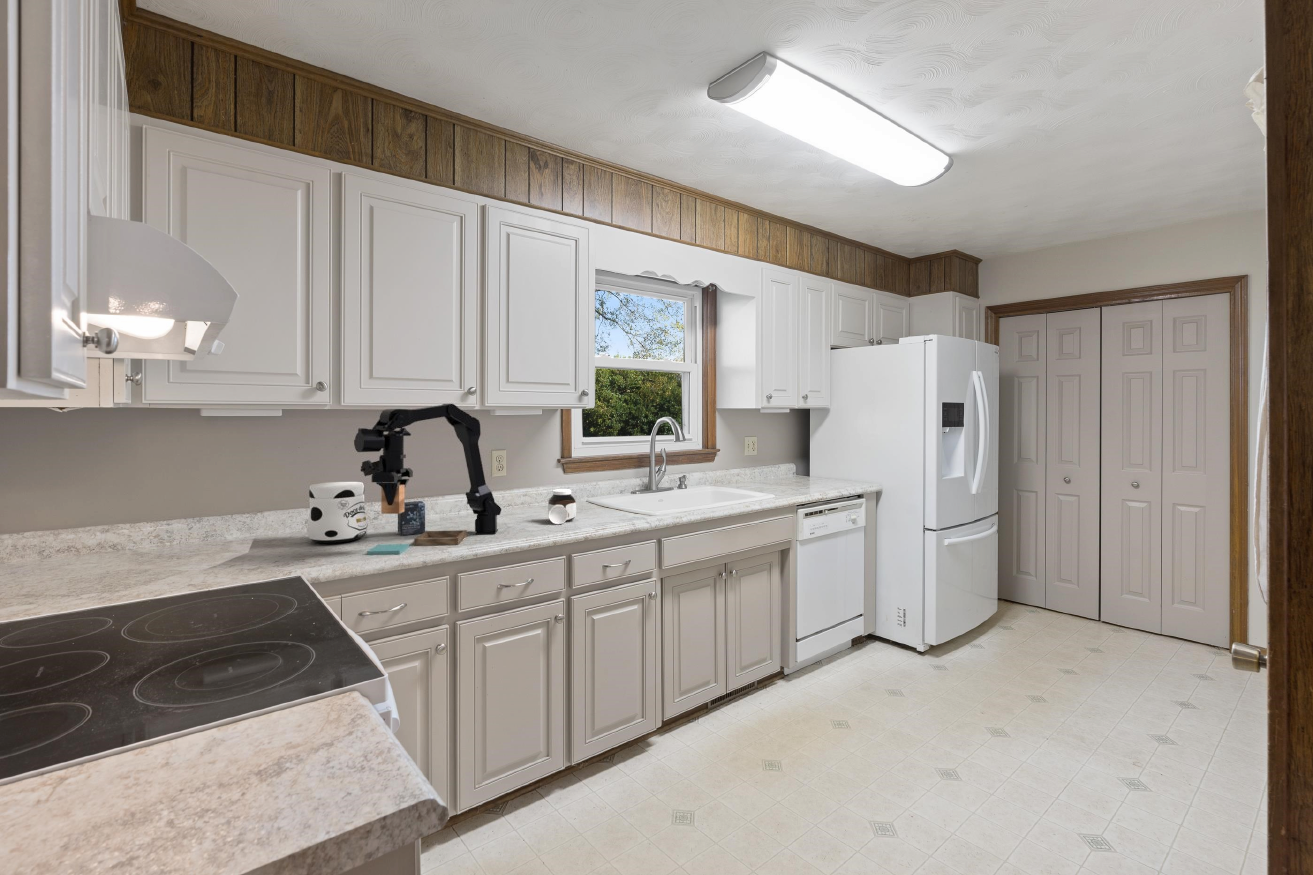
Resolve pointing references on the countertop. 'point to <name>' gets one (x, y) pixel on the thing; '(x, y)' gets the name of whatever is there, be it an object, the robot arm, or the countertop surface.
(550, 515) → the spread jar
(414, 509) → the box
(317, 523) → the milk container
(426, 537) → the pocket frame
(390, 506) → the block
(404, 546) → the plate
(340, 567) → the countertop surface
